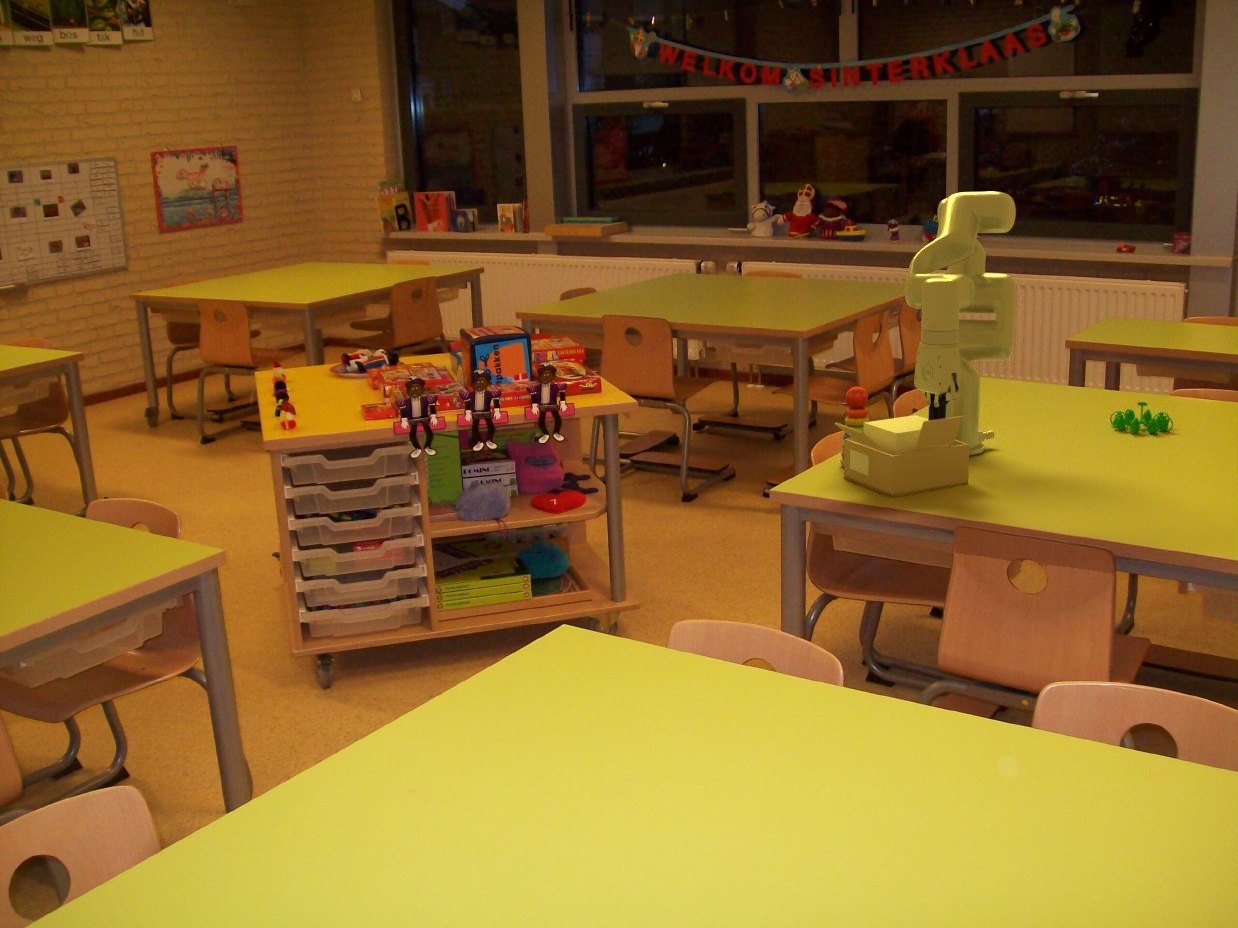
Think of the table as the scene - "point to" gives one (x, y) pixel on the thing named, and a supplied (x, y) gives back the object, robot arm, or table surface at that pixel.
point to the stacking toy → (855, 412)
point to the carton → (904, 459)
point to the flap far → (858, 435)
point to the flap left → (938, 431)
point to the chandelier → (1141, 420)
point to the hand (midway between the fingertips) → (936, 424)
